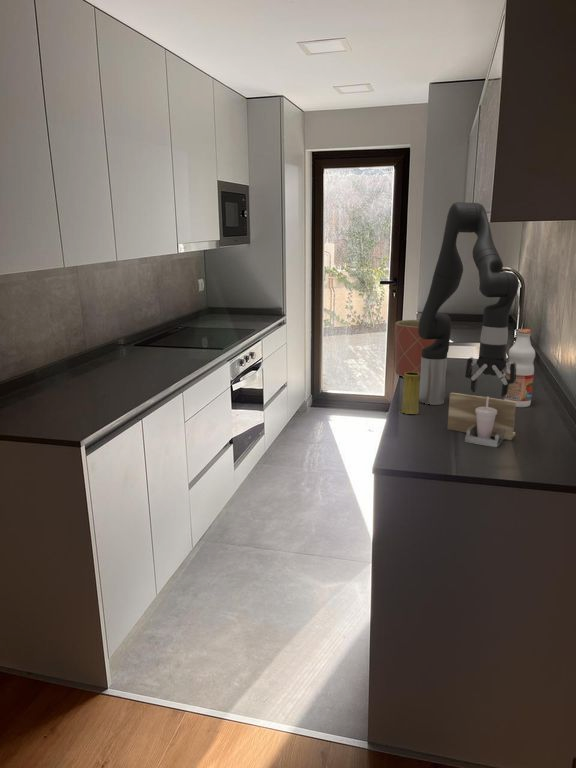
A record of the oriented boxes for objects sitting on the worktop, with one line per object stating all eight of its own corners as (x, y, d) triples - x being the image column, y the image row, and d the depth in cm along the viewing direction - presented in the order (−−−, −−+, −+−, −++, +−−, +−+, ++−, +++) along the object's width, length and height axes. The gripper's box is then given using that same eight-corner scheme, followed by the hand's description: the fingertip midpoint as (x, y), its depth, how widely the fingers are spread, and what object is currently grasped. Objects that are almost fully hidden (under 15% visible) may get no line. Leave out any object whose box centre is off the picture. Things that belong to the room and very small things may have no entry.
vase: (416, 409, 213) (418, 371, 210) (420, 414, 207) (422, 375, 204) (399, 410, 213) (401, 371, 209) (403, 415, 207) (405, 375, 203)
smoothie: (474, 442, 180) (478, 398, 176) (471, 435, 186) (475, 392, 182) (496, 443, 179) (500, 399, 175) (492, 436, 185) (496, 393, 181)
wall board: (452, 424, 196) (454, 389, 193) (515, 435, 186) (518, 398, 183) (447, 429, 192) (449, 393, 189) (511, 440, 182) (515, 402, 179)
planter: (441, 370, 275) (444, 320, 269) (448, 382, 253) (452, 327, 247) (391, 369, 277) (393, 319, 271) (394, 380, 255) (397, 326, 250)
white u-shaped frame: (473, 433, 188) (473, 423, 187) (504, 438, 183) (505, 428, 182) (464, 441, 180) (465, 430, 179) (497, 447, 175) (498, 436, 175)
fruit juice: (501, 400, 225) (508, 327, 218) (527, 401, 224) (535, 328, 217) (505, 407, 216) (512, 331, 210) (532, 408, 215) (540, 332, 208)
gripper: (521, 341, 174) (515, 394, 178) (472, 336, 181) (468, 387, 185) (516, 345, 167) (510, 400, 172) (465, 340, 175) (461, 393, 179)
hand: (488, 394), depth 178 cm, fingers open, 8 cm apart
